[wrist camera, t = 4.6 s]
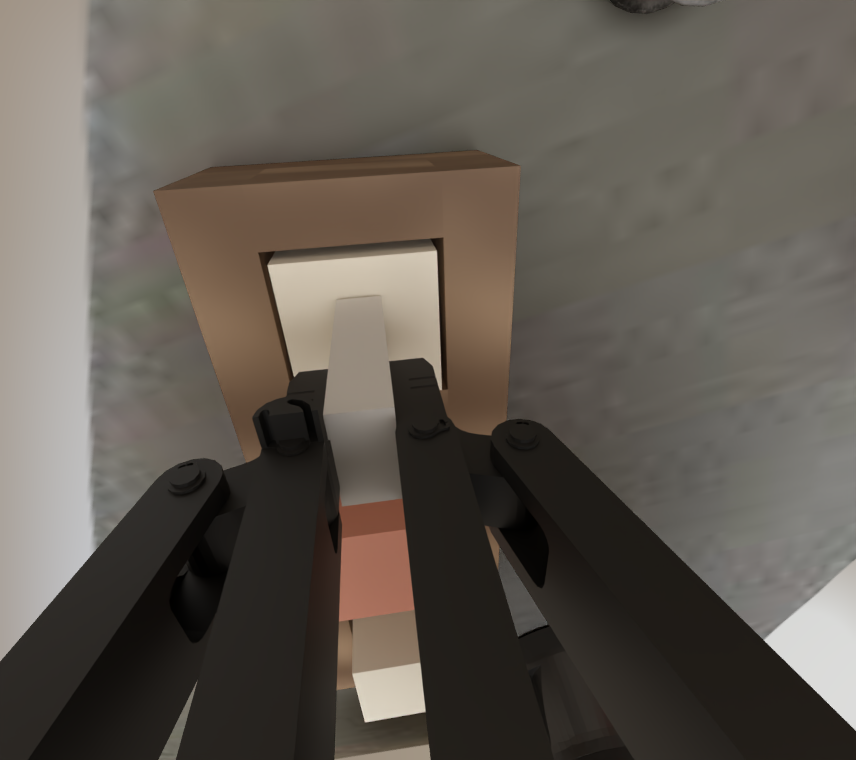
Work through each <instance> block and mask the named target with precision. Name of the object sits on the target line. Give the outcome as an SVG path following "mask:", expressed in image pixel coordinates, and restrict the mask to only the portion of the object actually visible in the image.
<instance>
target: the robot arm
mask: <svg viewBox="0 0 856 760" xmlns="http://www.w3.org/2000/svg"><path fill="white" fill-rule="evenodd" d="M252 420H253V423H254V426H255V429H256V432H257V436H258V439H259V442H260V445H261V448H262V449H261V453H260V456H259V457H257V458H256V459H254V460H252V461H250V462H247V463H245V464H242V465H239V466H236V467H233V468H230V469H227V470H224V471H223V469H222V466H221V465H220V464H219V463H218V462H216V461H215V460H210V459H205V458H204V459H193V460H189V461H186V462H183V463H180V464H178V465H176V466H174V467H172V468H171V469H169V470H167V471H166V472H164V473H163V474H162V475H161V476H160V477H159V478H158V479H157V480H156V481H155V482H154V483H153V484H152V485H151V487H150V488H149V489H148V490H147V491H146V492H145V494H144V495H143V496H142V497H141V498H140V499H139V501H138V502H137V503H136V504H135V505H134V506H133V508H132V509H131V510H130V511H129V512H128V513H127V514H126V516H125V517H124V518H123V519H122V520H121V521H120V523H119V524H118V525H117V526H116V527H115V528H114V530H113V531H112V532H111V533H110V534H109V535H108V537H107V538H106V539H105V540H104V541H103V542H102V544H101V545H100V546H99V547H98V548H97V549H96V551H95V552H94V553H93V554H92V555H91V556H90V558H89V559H88V560H87V561H86V562H85V564H84V565H83V566H82V567H81V568H80V569H79V570H78V572H77V573H76V574H75V575H74V576H73V577H72V579H71V580H70V581H69V582H68V583H67V584H66V586H65V587H64V588H63V589H62V590H61V592H60V593H59V594H58V595H57V596H56V597H55V599H54V600H53V601H52V602H51V603H50V604H49V605H48V607H47V608H46V609H45V610H44V611H43V612H42V614H41V615H40V616H39V617H38V618H37V619H36V621H35V622H34V623H33V624H32V625H31V626H30V628H29V629H28V630H27V631H26V632H25V633H24V635H23V636H22V637H21V638H20V639H19V641H18V642H17V643H16V644H15V645H14V646H13V647H12V649H11V650H10V651H9V652H8V653H7V654H6V656H5V657H4V658H3V659H2V660H1V661H0V760H158V759H159V757H160V755H161V753H162V751H163V749H164V747H165V745H166V743H167V741H168V739H169V737H170V735H171V733H172V731H173V729H174V727H175V724H176V722H177V720H178V718H179V716H180V714H181V712H182V710H183V708H184V706H185V704H186V702H187V700H188V698H189V696H190V694H191V692H192V690H193V688H194V686H195V684H196V682H197V685H196V689H195V692H194V696H193V700H192V703H191V707H190V710H189V714H188V718H187V721H186V725H185V729H184V732H183V736H182V739H181V743H180V747H179V750H178V754H177V758H176V760H334V752H335V723H336V693H337V664H338V634H339V605H340V575H341V545H342V521H341V516H340V512H339V498H340V499H341V503H342V506H350V505H357V504H365V503H373V502H380V501H388V500H395V499H402V500H403V509H404V518H405V528H406V537H407V546H408V555H409V564H410V574H411V583H412V592H413V601H414V610H415V619H416V629H417V638H418V647H419V656H420V665H421V675H422V684H423V693H424V702H425V711H426V720H427V730H428V739H429V748H430V757H431V760H856V731H855V730H854V729H853V728H852V727H851V726H850V725H849V724H848V723H847V722H846V721H845V720H844V719H843V718H842V717H841V716H840V715H839V714H838V713H837V712H836V711H835V710H834V709H833V708H832V707H831V706H830V705H829V704H828V703H827V702H826V701H825V700H824V699H823V698H822V697H821V696H820V695H819V694H818V693H817V692H816V691H815V690H814V689H813V688H812V687H811V686H810V685H808V684H807V683H806V681H804V680H803V679H802V678H801V677H800V676H799V675H798V674H797V673H796V672H795V671H794V670H793V669H792V668H791V667H790V666H789V665H788V664H787V663H786V662H785V661H784V660H783V659H782V658H781V657H780V656H779V655H778V654H777V653H776V652H775V651H774V650H773V649H772V648H771V647H770V646H769V645H768V644H767V643H766V642H765V641H764V640H763V639H762V638H761V637H760V636H759V635H758V634H757V633H756V632H755V631H754V630H753V629H752V628H751V627H750V626H748V625H747V624H746V623H745V622H744V621H743V620H742V619H741V618H740V617H739V616H738V615H737V614H736V613H735V612H734V611H733V610H732V609H731V608H730V607H729V606H728V605H727V604H726V603H725V602H724V601H723V600H722V599H721V598H720V597H719V596H718V595H717V594H716V593H715V592H714V591H713V590H712V589H711V588H710V587H709V586H708V585H707V584H706V583H705V582H704V581H703V580H702V579H701V578H700V577H699V576H698V575H697V574H696V573H695V572H693V571H692V570H691V569H690V568H689V567H688V566H687V565H686V564H685V563H684V562H683V561H682V560H681V559H680V558H679V557H678V556H677V555H676V554H675V553H674V552H673V551H672V550H671V549H670V548H669V547H668V546H667V545H666V544H665V543H664V542H663V541H662V540H661V539H660V538H659V537H658V536H657V535H656V534H655V533H654V532H653V531H652V530H651V529H650V528H649V527H648V526H647V525H646V524H645V523H644V522H643V521H642V520H641V519H640V518H638V517H637V516H636V515H635V514H634V513H633V512H632V511H631V510H630V509H629V508H628V507H627V506H626V505H625V504H624V503H623V502H622V501H621V500H620V499H619V498H618V497H617V496H616V495H615V494H614V493H613V492H612V491H611V490H610V489H609V488H608V487H607V486H606V485H605V484H604V483H603V482H602V481H601V480H600V479H599V478H598V477H597V476H596V475H595V474H594V473H593V472H592V471H591V470H590V469H589V468H588V467H587V466H586V465H585V464H584V463H582V462H581V461H580V460H579V459H578V458H577V457H576V456H575V455H574V454H573V453H572V452H571V451H570V450H569V449H568V448H567V447H566V446H565V445H564V444H563V443H562V442H561V441H560V440H559V439H558V438H557V437H556V436H555V435H554V434H553V433H552V432H551V431H550V430H549V429H547V428H546V427H544V426H543V425H541V424H539V423H536V422H534V421H531V420H523V419H515V420H508V421H505V422H503V423H501V424H498V425H497V426H496V427H495V428H494V429H493V431H492V434H491V435H481V434H474V433H469V432H466V431H463V430H460V429H459V428H457V427H455V425H454V423H453V422H452V420H451V419H450V418H448V417H447V414H446V411H445V407H444V404H443V400H442V397H441V393H440V390H439V386H438V383H437V379H436V376H435V372H434V369H433V366H432V365H431V364H430V363H429V362H428V361H426V360H425V359H424V358H415V359H405V360H396V361H389V358H388V349H387V341H386V333H385V325H384V316H383V308H382V300H381V296H372V297H362V298H351V299H340V300H336V304H335V313H334V322H333V331H332V340H331V348H330V357H329V366H328V369H322V370H313V371H303V372H299V373H298V374H297V375H296V376H295V377H294V378H293V379H292V380H291V381H290V382H289V385H288V389H287V395H286V397H283V398H278V399H275V400H273V401H271V402H268V403H266V404H264V405H263V406H262V407H260V408H259V409H258V410H257V411H256V412H255V414H254V415H253V417H252ZM485 526H489V529H490V531H491V533H492V535H493V537H494V538H495V540H496V541H497V543H498V544H499V546H500V548H501V549H502V551H503V552H504V554H505V556H506V557H507V559H508V560H509V562H510V563H511V565H512V567H513V568H514V570H515V571H516V573H517V575H518V576H519V578H520V579H521V581H522V582H523V584H524V586H525V587H526V589H527V590H528V592H529V594H530V595H531V597H532V598H533V600H534V602H535V603H536V605H537V606H538V608H539V609H540V611H541V613H542V614H543V616H544V617H545V619H546V621H547V622H548V624H549V625H550V627H547V628H544V629H541V630H538V631H536V632H533V633H531V634H528V635H526V636H524V637H522V638H520V639H518V636H517V633H516V630H515V626H514V623H513V620H512V616H511V613H510V609H509V606H508V603H507V599H506V596H505V593H504V589H503V586H502V583H501V579H500V576H499V572H498V569H497V566H496V562H495V559H494V556H493V552H492V549H491V546H490V542H489V539H488V535H487V532H486V529H485ZM197 680H198V681H197Z"/></svg>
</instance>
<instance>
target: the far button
mask: <svg viewBox="0 0 856 760" xmlns="http://www.w3.org/2000/svg"><path fill="white" fill-rule="evenodd" d="M352 675H353V679H354V682H355V686H356V690H357V694H358V697H359V701H360V705H361V709H362V713H363V716H364V720H365V722H371V721H377V720H382V719H388V718H394V717H400V716H405V715H411V714H417V713H422V712H426V711H425V702H424V693H423V684H422V675H421V665H420V656H419V647H418V638H417V629H416V619H415V610H411V611H404V612H398V613H391V614H385V615H378V616H372V617H365V618H359V619H353V647H352Z"/></svg>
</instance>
